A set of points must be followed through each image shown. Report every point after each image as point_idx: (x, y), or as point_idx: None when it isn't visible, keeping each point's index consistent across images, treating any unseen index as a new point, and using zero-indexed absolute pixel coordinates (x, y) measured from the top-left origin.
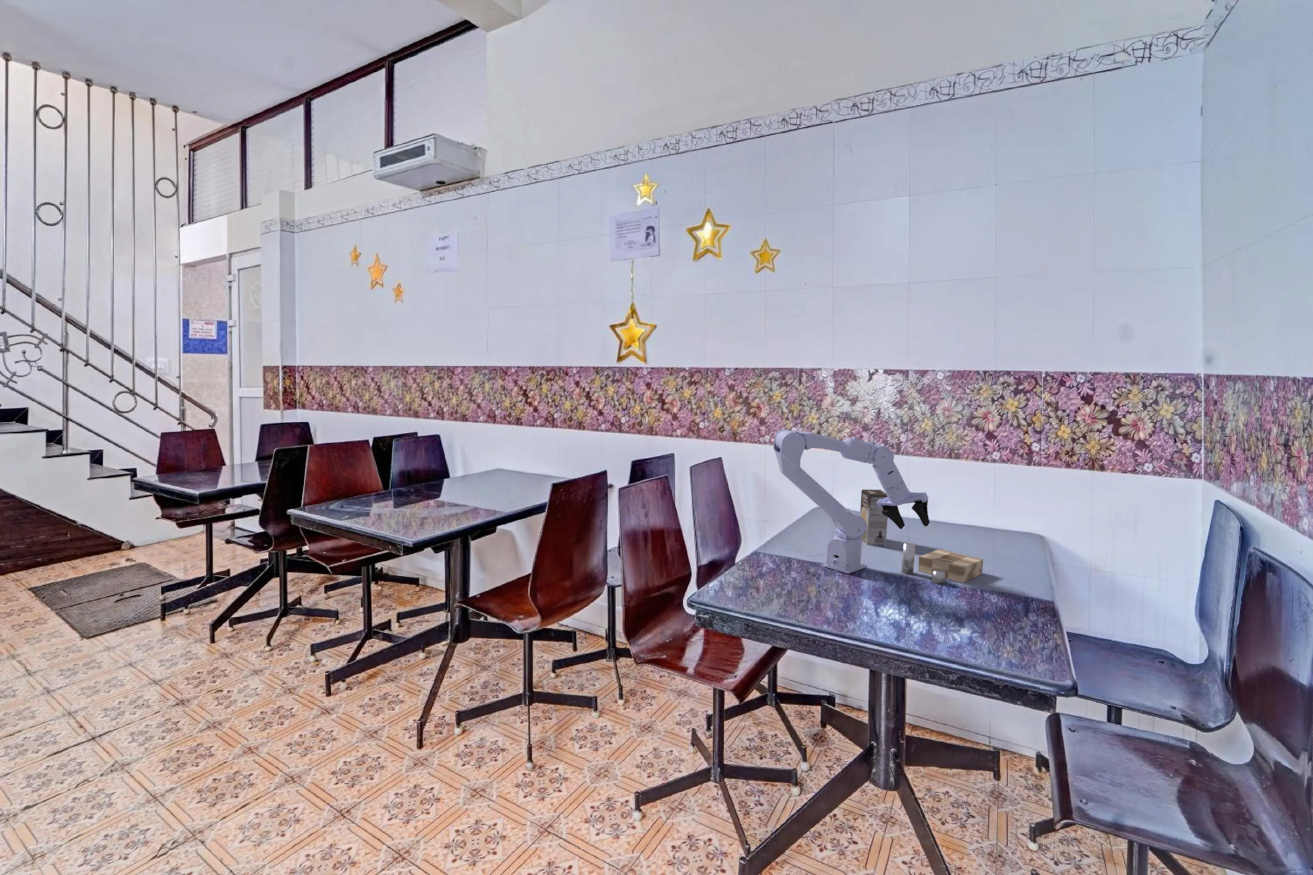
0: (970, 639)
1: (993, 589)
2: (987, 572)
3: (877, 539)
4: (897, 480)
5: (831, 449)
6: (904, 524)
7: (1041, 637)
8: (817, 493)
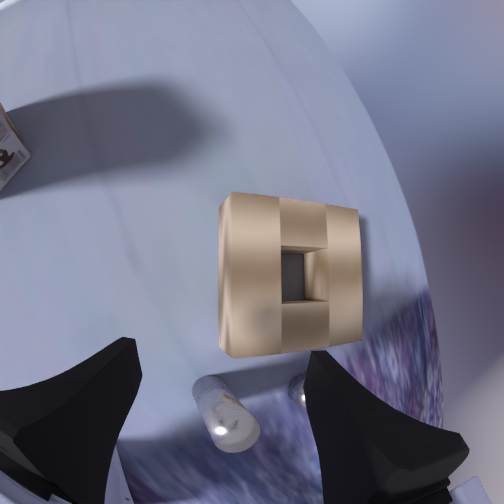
0: None
1: (382, 315)
2: (334, 198)
3: (5, 170)
4: None
5: None
6: (133, 343)
7: (435, 423)
8: None
